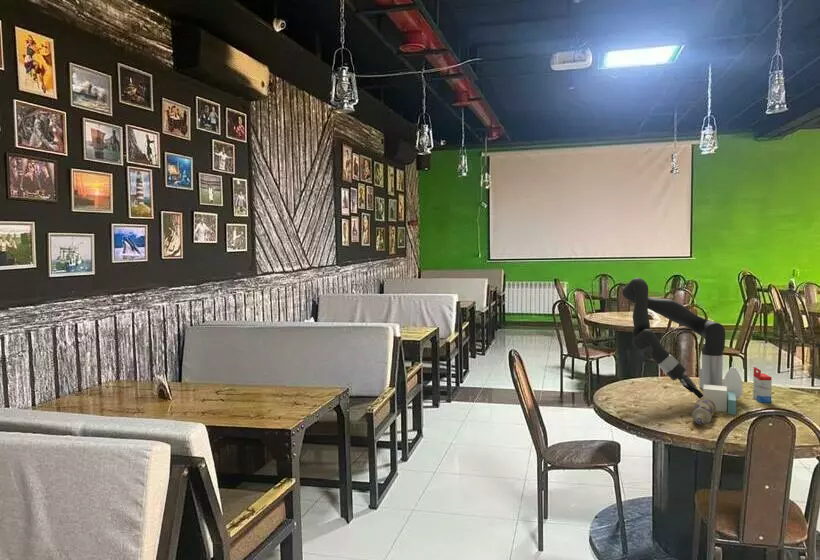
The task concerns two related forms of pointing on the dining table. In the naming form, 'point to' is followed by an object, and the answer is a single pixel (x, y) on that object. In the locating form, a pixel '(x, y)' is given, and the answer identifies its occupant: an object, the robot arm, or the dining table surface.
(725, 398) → the cream block
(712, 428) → the dining table surface
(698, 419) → the decorative bottle
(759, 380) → the ink box
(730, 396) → the teal board
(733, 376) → the sauce bottle
